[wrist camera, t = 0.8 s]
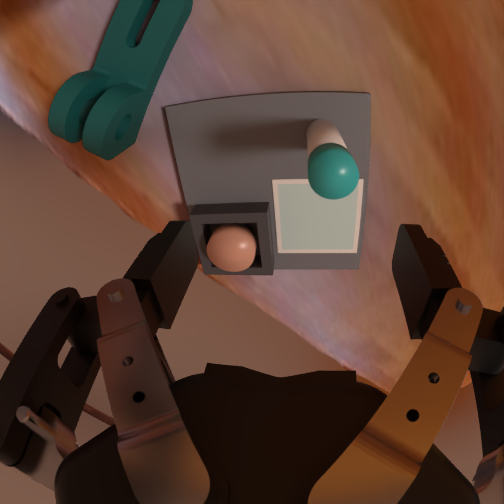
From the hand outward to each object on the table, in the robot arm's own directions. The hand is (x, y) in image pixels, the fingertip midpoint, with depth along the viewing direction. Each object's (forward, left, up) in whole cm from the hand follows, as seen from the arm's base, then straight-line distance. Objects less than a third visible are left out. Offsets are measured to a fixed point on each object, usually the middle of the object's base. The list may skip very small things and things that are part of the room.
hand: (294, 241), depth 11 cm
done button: (+12, -7, -17) cm, 22 cm away
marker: (+1, +2, -18) cm, 18 cm away
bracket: (-9, -15, -19) cm, 26 cm away
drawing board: (+7, -3, -19) cm, 20 cm away
